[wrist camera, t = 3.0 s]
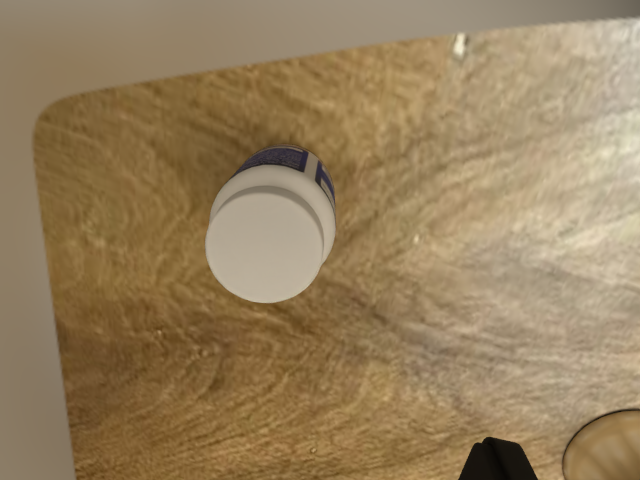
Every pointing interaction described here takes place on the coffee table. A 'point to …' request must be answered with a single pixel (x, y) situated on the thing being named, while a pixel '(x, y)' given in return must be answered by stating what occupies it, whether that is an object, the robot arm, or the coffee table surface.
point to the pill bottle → (272, 225)
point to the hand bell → (606, 449)
